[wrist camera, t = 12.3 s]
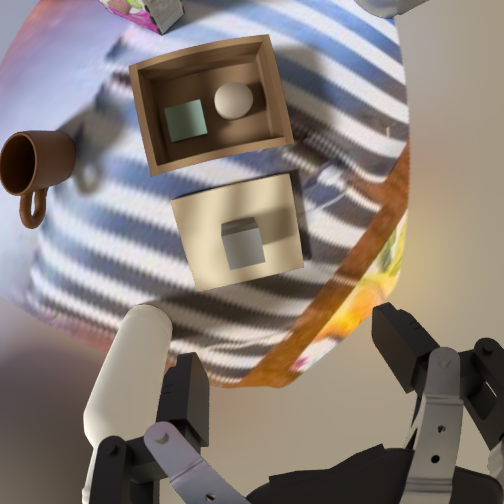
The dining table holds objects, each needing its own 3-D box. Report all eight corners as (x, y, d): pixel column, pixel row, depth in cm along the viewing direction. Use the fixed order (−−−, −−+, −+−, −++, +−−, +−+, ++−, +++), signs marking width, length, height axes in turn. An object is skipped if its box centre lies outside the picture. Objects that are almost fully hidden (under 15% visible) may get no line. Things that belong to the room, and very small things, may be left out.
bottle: (163, 298, 38) (111, 505, 10) (180, 340, 41) (161, 527, 13) (117, 307, 38) (41, 484, 10) (136, 346, 40) (93, 514, 13)
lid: (285, 172, 34) (300, 177, 27) (300, 261, 38) (315, 284, 32) (173, 198, 33) (161, 209, 27) (198, 284, 38) (195, 312, 31)
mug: (81, 212, 32) (45, 233, 23) (42, 216, 31) (5, 235, 22) (77, 126, 28) (38, 123, 19) (38, 136, 27) (-4, 138, 18)
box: (258, 58, 27) (268, 34, 20) (277, 145, 32) (294, 143, 24) (148, 83, 27) (128, 66, 20) (167, 170, 32) (151, 176, 24)
